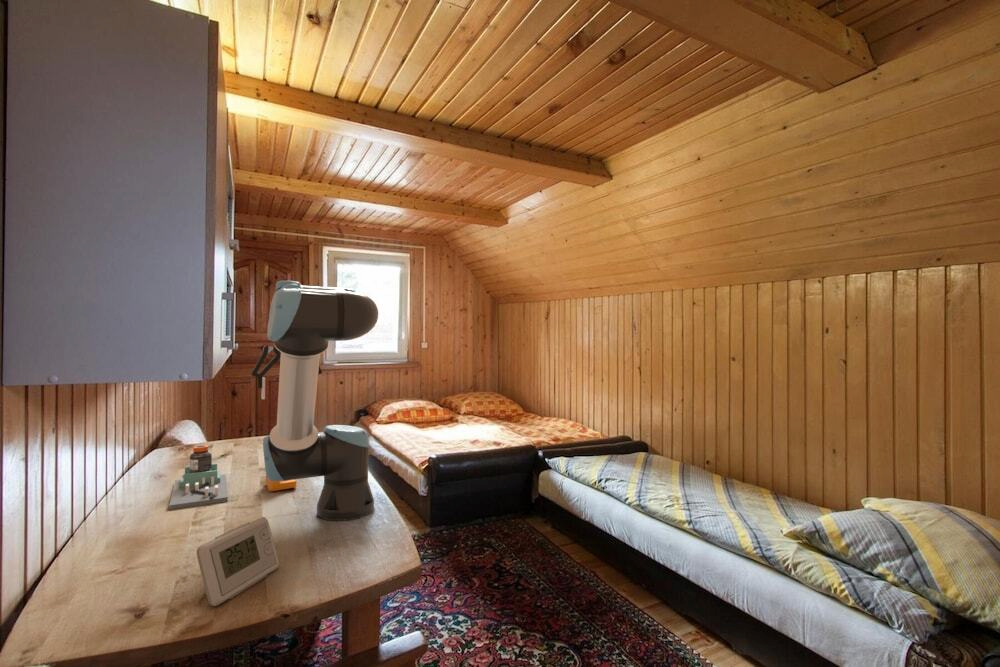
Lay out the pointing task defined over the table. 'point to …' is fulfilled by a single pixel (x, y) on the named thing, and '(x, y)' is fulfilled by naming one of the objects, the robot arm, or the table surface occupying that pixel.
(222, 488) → the board
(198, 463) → the pill bottle
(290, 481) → the bracket
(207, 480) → the end holder
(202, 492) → the cable
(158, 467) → the table surface
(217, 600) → the digital clock
